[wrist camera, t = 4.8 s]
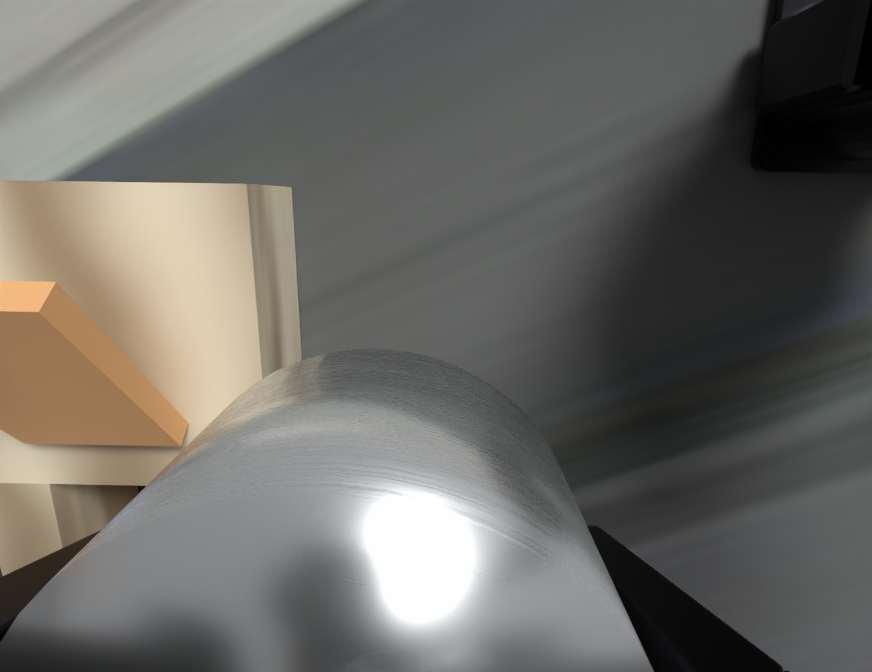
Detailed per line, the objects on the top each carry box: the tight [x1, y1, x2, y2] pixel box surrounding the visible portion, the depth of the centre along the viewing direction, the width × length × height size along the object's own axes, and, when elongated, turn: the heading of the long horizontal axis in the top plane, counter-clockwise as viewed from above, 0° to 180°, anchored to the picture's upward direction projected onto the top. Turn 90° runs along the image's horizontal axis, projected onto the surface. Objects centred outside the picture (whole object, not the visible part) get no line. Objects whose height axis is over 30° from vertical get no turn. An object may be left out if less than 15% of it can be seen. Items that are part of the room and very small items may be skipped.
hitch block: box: [0, 180, 302, 576], centre depth 19 cm, size 10×16×4 cm, turn 179°
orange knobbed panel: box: [0, 281, 188, 446], centre depth 13 cm, size 7×5×2 cm
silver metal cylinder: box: [0, 349, 654, 672], centre depth 9 cm, size 7×7×8 cm
